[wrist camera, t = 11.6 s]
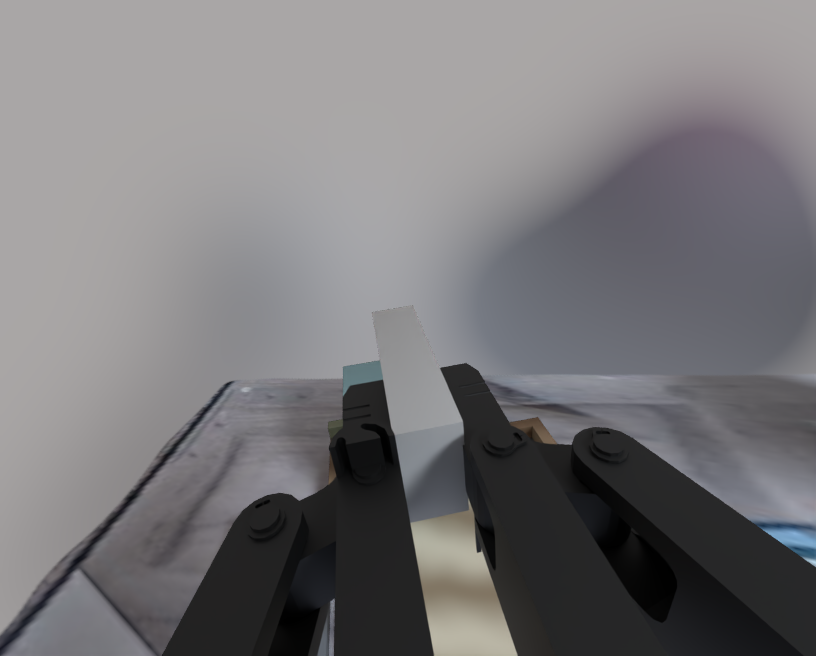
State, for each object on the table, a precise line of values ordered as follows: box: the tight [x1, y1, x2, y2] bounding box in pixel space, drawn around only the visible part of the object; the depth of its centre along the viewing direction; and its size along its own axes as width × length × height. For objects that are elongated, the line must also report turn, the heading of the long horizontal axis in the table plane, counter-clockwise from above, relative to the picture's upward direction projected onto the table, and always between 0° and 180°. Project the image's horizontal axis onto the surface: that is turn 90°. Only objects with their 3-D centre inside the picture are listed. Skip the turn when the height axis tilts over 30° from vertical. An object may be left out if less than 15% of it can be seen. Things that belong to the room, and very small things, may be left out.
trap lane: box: [317, 417, 557, 656], centre depth 32 cm, size 29×31×4 cm
